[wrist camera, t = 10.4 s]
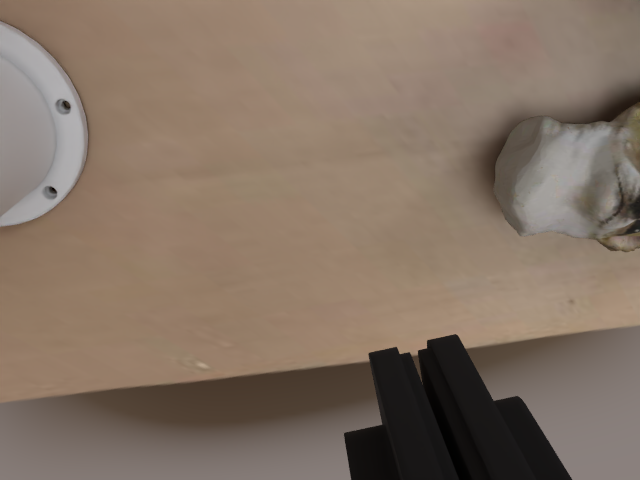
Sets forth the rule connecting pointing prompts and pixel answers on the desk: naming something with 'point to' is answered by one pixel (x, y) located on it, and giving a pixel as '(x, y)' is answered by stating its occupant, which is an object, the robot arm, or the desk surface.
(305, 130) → the desk surface
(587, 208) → the ceramic sculpture
